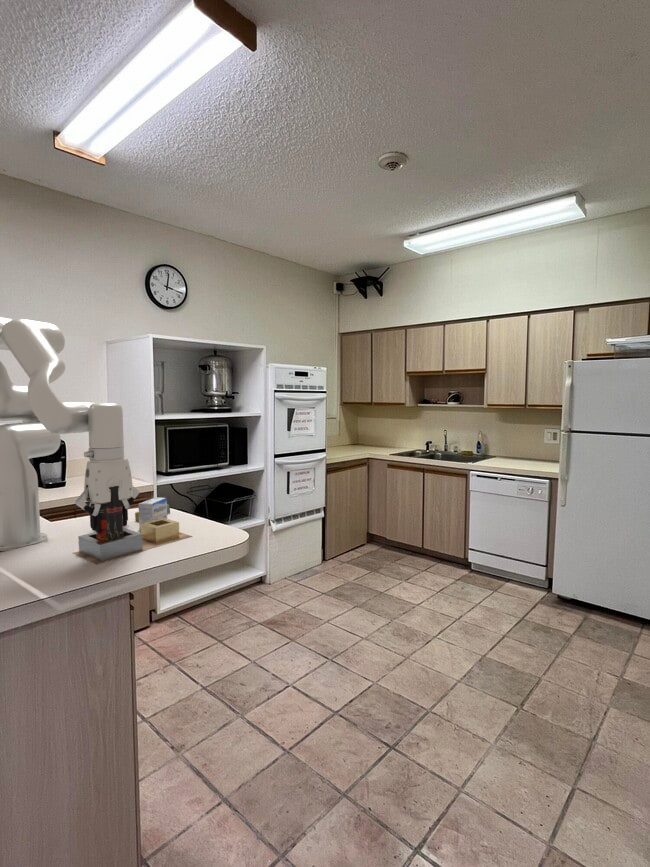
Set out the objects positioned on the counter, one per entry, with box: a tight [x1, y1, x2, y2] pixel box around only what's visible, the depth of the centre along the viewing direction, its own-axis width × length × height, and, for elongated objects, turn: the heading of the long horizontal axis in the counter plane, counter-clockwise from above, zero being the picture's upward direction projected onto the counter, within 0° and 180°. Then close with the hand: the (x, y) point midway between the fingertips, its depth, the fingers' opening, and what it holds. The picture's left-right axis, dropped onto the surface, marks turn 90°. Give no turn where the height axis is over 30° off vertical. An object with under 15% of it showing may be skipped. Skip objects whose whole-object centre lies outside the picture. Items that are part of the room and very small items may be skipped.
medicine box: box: [137, 497, 168, 531], centre depth 135 cm, size 8×4×9 cm, turn 168°
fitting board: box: [72, 531, 194, 565], centre depth 119 cm, size 12×26×1 cm, turn 142°
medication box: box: [134, 503, 171, 523], centre depth 145 cm, size 12×3×4 cm, turn 154°
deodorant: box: [95, 486, 124, 542], centre depth 113 cm, size 6×6×15 cm
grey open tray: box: [78, 527, 143, 562], centre depth 114 cm, size 10×10×4 cm
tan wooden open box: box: [140, 518, 180, 543], centre depth 125 cm, size 7×7×4 cm
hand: (109, 527), depth 114 cm, fingers closed on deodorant, 5 cm apart
